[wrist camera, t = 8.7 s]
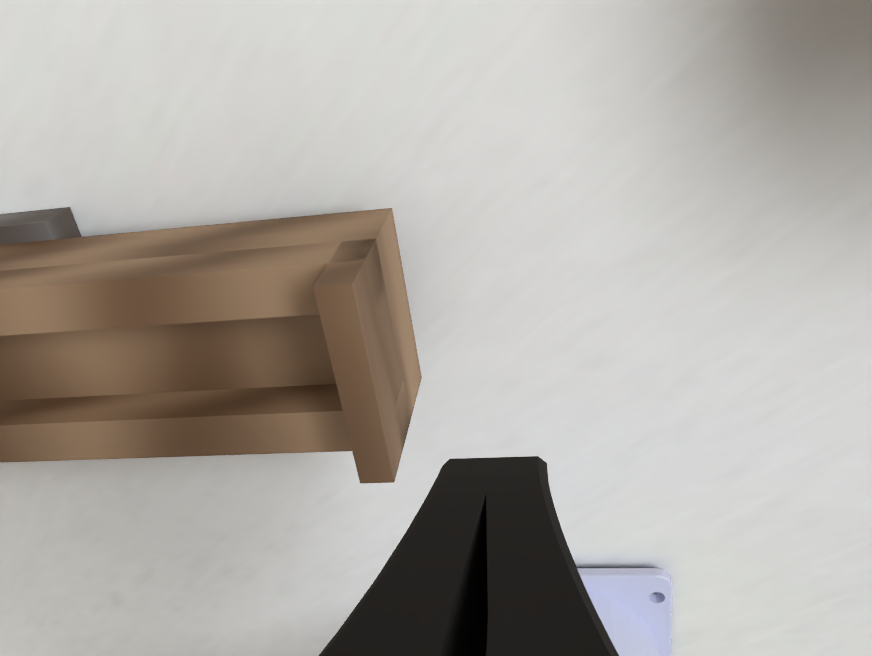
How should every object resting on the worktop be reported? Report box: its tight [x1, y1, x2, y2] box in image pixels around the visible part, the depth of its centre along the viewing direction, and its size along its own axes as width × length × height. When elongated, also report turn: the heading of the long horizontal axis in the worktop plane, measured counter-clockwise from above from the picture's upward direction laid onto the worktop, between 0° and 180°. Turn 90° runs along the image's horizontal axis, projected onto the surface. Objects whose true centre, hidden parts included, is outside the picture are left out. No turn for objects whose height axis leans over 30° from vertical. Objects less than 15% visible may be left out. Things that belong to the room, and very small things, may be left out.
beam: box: [0, 207, 422, 483], centre depth 20 cm, size 22×6×6 cm, turn 98°
